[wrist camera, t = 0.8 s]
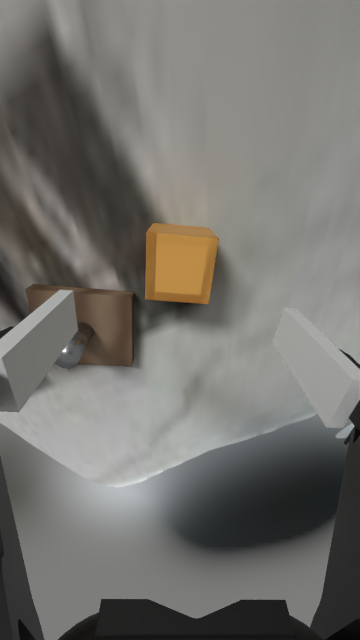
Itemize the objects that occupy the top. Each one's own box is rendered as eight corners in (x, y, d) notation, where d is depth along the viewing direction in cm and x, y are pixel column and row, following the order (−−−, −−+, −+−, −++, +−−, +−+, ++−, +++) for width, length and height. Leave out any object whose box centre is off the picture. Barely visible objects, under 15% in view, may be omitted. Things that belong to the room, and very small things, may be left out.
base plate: (133, 291, 34) (131, 297, 32) (133, 358, 40) (131, 366, 38) (33, 284, 33) (25, 289, 31) (48, 353, 39) (42, 361, 37)
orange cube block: (208, 228, 30) (218, 238, 23) (201, 280, 33) (208, 304, 26) (153, 222, 30) (146, 232, 23) (151, 276, 33) (145, 299, 26)
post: (93, 323, 34) (76, 349, 28) (94, 340, 35) (79, 369, 30) (71, 321, 34) (50, 347, 28) (74, 339, 35) (54, 367, 30)
